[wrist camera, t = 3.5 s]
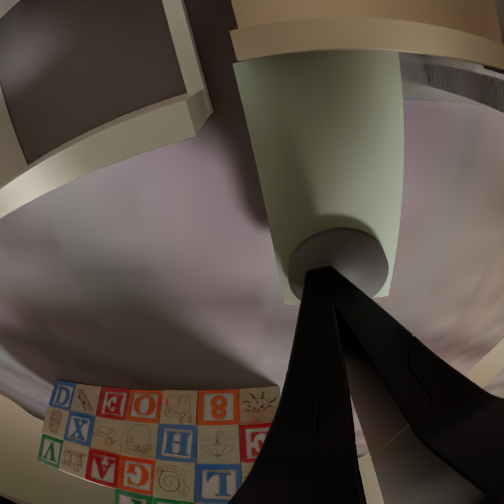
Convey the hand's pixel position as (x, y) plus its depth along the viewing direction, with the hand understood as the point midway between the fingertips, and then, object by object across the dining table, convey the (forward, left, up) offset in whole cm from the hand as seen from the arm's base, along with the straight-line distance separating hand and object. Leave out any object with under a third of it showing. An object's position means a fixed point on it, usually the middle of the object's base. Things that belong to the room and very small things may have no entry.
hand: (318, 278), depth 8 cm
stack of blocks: (+13, +16, -3) cm, 21 cm away
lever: (-6, -5, -1) cm, 8 cm away
